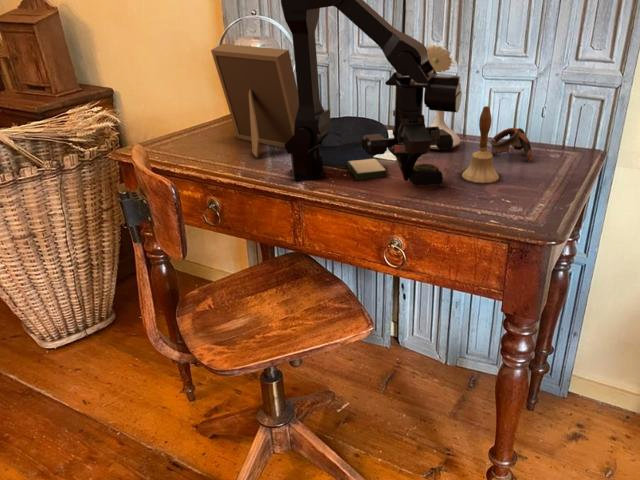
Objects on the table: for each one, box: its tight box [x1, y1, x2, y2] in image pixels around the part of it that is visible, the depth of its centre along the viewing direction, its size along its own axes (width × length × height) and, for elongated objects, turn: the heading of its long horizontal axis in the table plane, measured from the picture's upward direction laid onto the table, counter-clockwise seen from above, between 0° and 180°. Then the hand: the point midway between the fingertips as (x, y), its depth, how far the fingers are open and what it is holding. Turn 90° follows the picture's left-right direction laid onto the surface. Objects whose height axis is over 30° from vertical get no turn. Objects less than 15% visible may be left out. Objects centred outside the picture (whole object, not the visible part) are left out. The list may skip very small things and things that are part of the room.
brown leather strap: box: [490, 127, 533, 163], centre depth 142 cm, size 12×10×8 cm
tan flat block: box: [346, 158, 387, 181], centre depth 134 cm, size 7×9×2 cm
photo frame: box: [210, 43, 299, 158], centre depth 146 cm, size 15×22×25 cm
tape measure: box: [408, 163, 444, 188], centre depth 127 cm, size 7×7×4 cm
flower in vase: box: [426, 44, 461, 151], centre depth 145 cm, size 13×11×25 cm
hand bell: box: [461, 105, 500, 184], centre depth 127 cm, size 8×8×16 cm
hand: (405, 180), depth 125 cm, fingers closed
